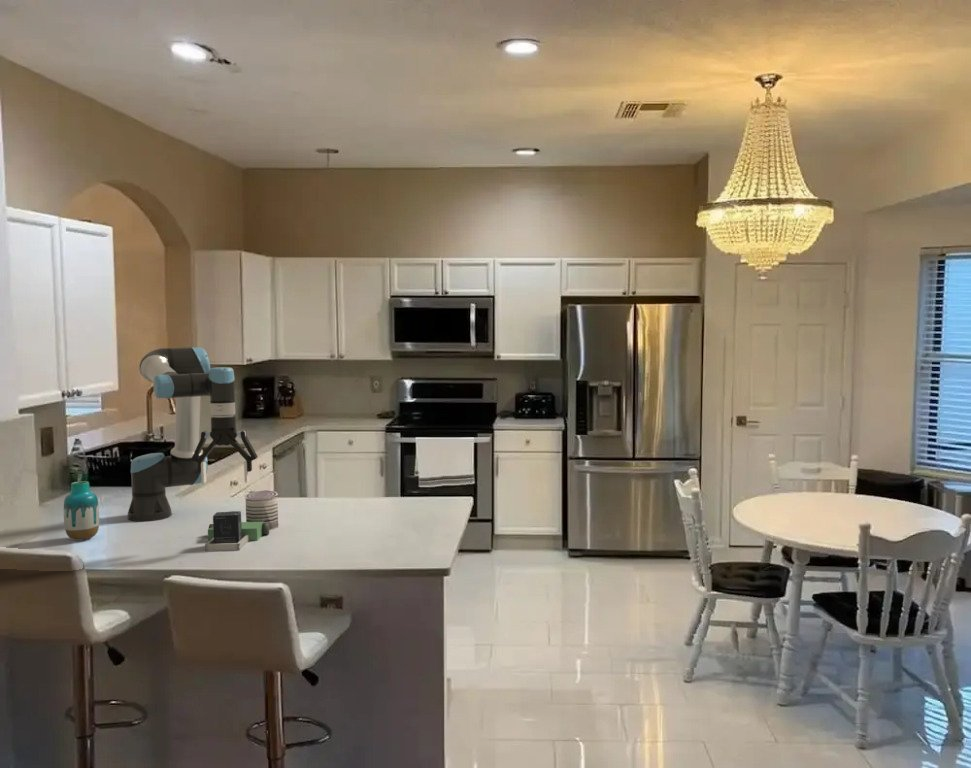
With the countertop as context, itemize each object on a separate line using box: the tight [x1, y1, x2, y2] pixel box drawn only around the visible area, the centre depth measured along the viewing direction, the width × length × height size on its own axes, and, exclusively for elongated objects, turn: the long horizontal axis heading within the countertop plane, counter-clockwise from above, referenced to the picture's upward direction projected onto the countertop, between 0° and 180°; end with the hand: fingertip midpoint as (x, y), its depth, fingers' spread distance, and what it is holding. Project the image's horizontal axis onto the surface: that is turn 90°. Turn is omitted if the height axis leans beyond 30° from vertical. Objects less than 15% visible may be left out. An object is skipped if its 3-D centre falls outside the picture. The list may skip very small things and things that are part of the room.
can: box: [244, 489, 279, 531], centre depth 293 cm, size 11×11×12 cm
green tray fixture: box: [204, 510, 271, 552], centre depth 273 cm, size 19×22×8 cm
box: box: [212, 510, 242, 544], centre depth 268 cm, size 8×6×11 cm
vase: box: [63, 481, 100, 541], centre depth 280 cm, size 11×11×19 cm
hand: (225, 482), depth 267 cm, fingers open, 13 cm apart
